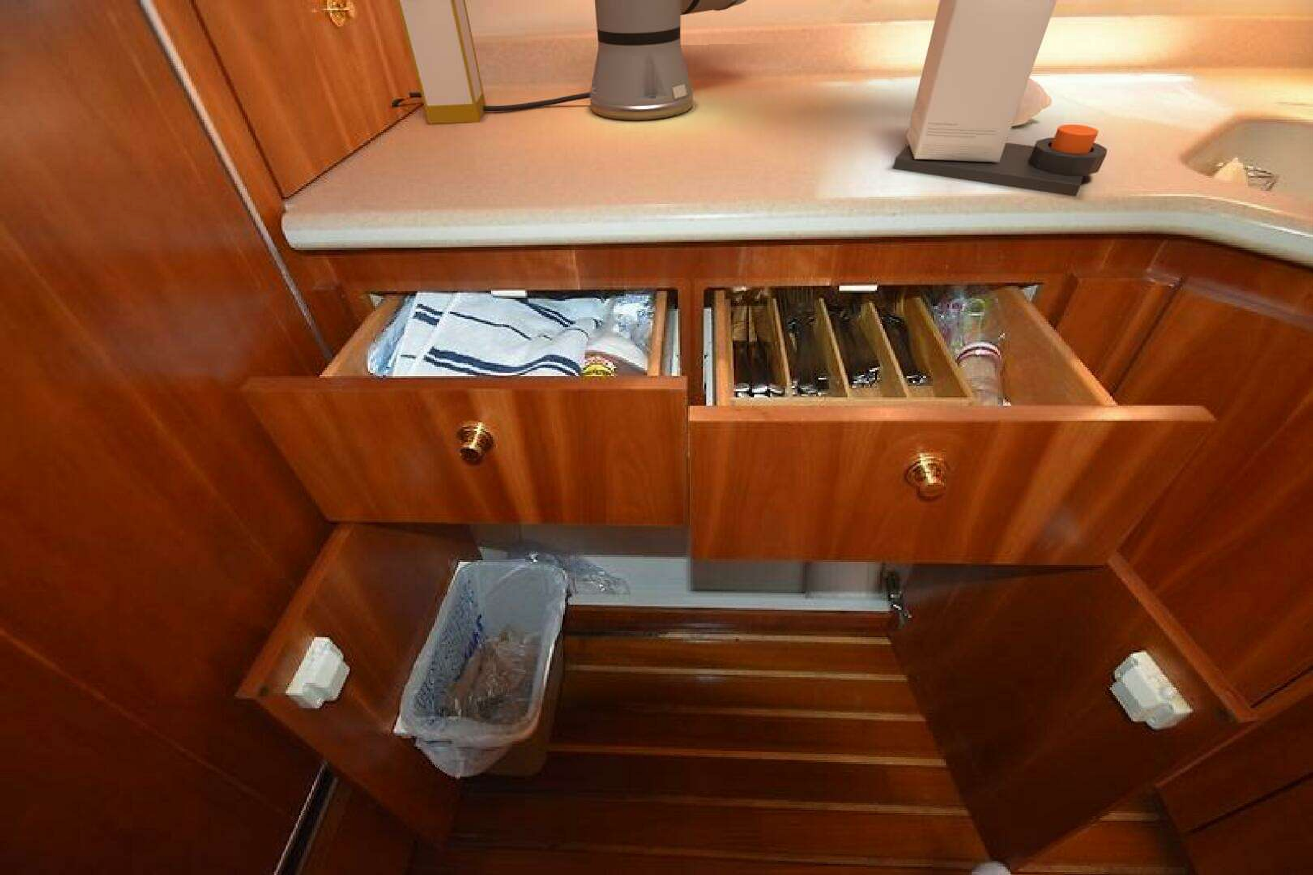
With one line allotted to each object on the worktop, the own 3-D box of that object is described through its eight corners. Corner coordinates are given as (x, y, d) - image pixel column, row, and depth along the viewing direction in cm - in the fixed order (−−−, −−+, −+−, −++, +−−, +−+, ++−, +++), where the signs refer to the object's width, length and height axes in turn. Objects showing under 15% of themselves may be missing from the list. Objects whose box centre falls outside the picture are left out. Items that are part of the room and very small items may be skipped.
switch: (1047, 153, 60) (1056, 131, 59) (1051, 143, 63) (1059, 122, 61) (1087, 158, 59) (1097, 136, 58) (1089, 148, 61) (1099, 126, 60)
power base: (892, 169, 65) (899, 140, 63) (916, 142, 72) (923, 115, 70) (1089, 199, 58) (1104, 167, 56) (1095, 165, 65) (1109, 136, 63)
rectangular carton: (1001, 164, 62) (1064, -12, 52) (912, 161, 64) (957, -12, 54) (985, 139, 69) (1038, -23, 59) (905, 136, 70) (943, -22, 60)
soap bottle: (420, 135, 80) (355, -99, 64) (439, 110, 89) (387, -99, 73) (473, 132, 80) (422, -101, 64) (486, 108, 90) (444, -101, 74)
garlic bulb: (1054, 127, 75) (1074, 78, 72) (1015, 132, 74) (1032, 83, 70) (1024, 116, 79) (1041, 69, 75) (986, 120, 78) (1001, 73, 74)
